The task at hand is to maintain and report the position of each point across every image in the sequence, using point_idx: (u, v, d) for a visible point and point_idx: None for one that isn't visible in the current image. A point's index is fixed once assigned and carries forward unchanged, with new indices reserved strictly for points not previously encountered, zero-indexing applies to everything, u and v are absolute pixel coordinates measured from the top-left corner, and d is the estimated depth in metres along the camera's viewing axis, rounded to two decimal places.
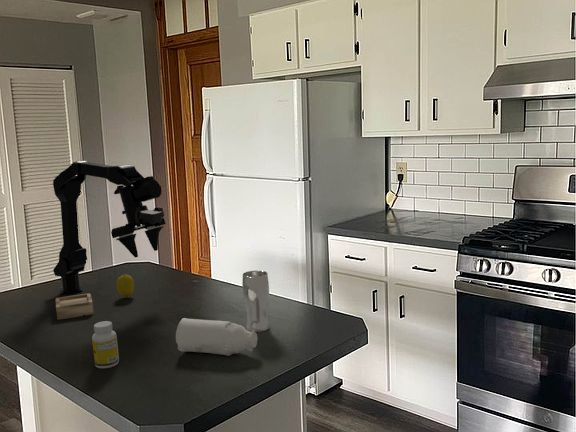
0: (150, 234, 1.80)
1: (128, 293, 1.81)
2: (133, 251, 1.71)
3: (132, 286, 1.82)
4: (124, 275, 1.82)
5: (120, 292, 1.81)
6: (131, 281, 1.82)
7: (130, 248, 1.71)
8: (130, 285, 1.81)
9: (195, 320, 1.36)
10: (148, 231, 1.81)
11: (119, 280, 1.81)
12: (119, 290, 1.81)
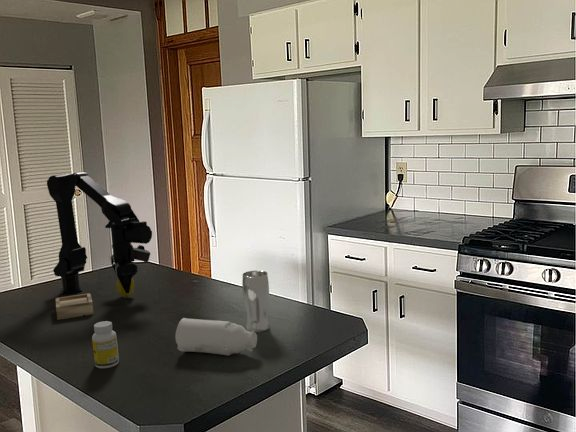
0: None
1: (128, 293, 1.81)
2: (127, 287, 1.78)
3: (132, 286, 1.82)
4: None
5: (120, 292, 1.81)
6: (131, 281, 1.82)
7: (126, 284, 1.77)
8: None
9: (195, 320, 1.36)
10: None
11: None
12: (119, 290, 1.81)
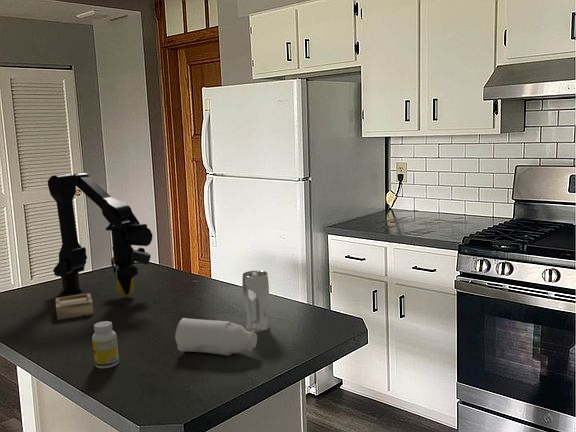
0: None
1: None
2: (127, 288, 1.80)
3: (132, 286, 1.82)
4: None
5: (120, 292, 1.81)
6: (131, 281, 1.82)
7: (125, 285, 1.79)
8: (130, 285, 1.81)
9: (195, 320, 1.36)
10: None
11: None
12: (119, 290, 1.81)
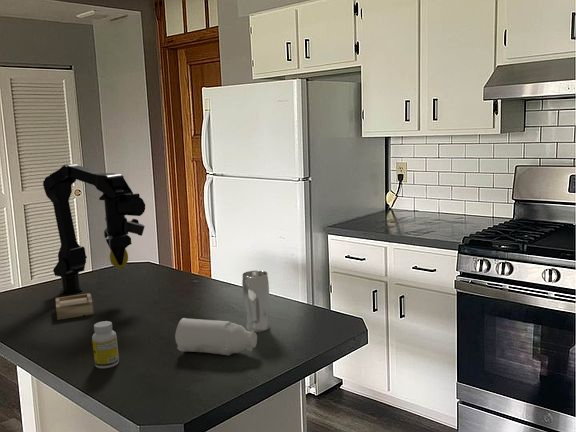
0: None
1: (122, 264, 1.79)
2: (120, 259, 1.77)
3: (126, 257, 1.79)
4: None
5: (113, 264, 1.78)
6: (125, 252, 1.79)
7: (119, 256, 1.76)
8: (124, 256, 1.79)
9: (195, 320, 1.36)
10: None
11: None
12: (112, 261, 1.78)
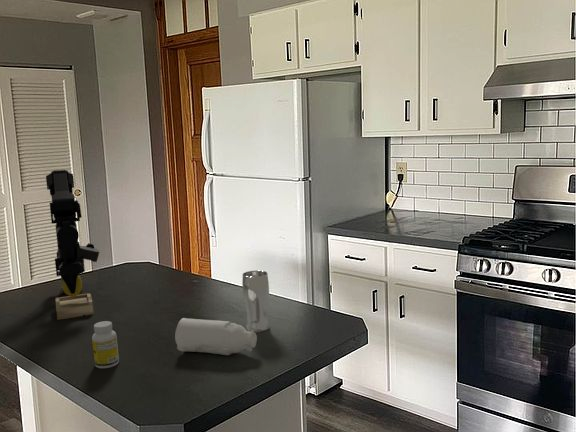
0: None
1: (75, 292, 1.68)
2: (73, 287, 1.67)
3: (79, 285, 1.69)
4: None
5: (66, 292, 1.68)
6: (78, 280, 1.69)
7: (71, 284, 1.66)
8: (77, 284, 1.68)
9: (194, 320, 1.36)
10: None
11: None
12: (65, 289, 1.68)
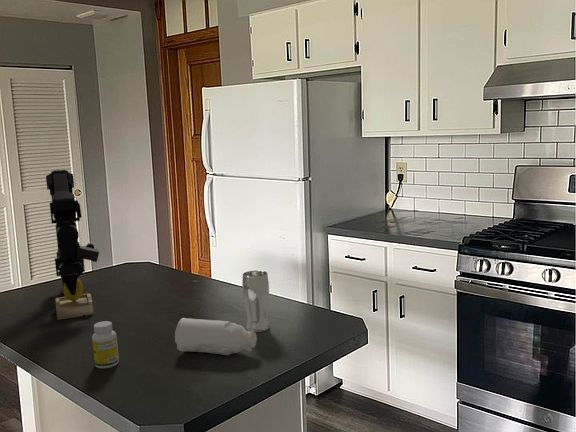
0: None
1: (75, 297, 1.69)
2: (73, 289, 1.65)
3: (80, 290, 1.69)
4: None
5: (67, 296, 1.68)
6: (79, 284, 1.69)
7: (71, 285, 1.64)
8: (78, 289, 1.68)
9: (194, 320, 1.36)
10: None
11: None
12: (65, 294, 1.68)
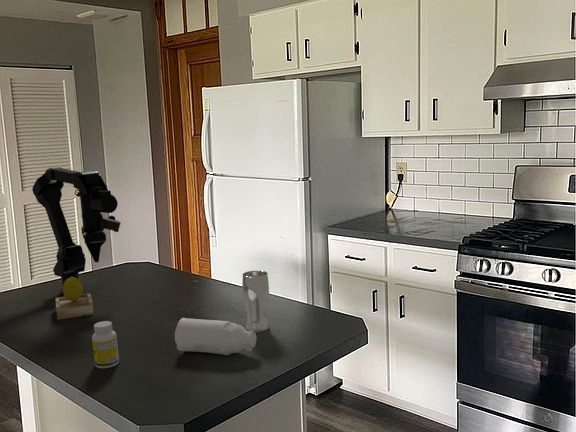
0: None
1: (75, 297, 1.69)
2: (97, 256, 1.77)
3: (80, 290, 1.69)
4: (71, 278, 1.69)
5: (67, 297, 1.68)
6: (79, 284, 1.69)
7: (95, 253, 1.76)
8: (77, 289, 1.68)
9: (194, 320, 1.36)
10: None
11: (65, 283, 1.68)
12: (65, 294, 1.68)
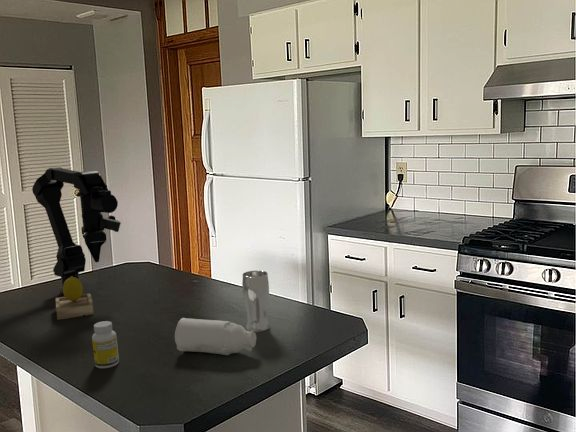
0: None
1: (75, 297, 1.69)
2: (97, 256, 1.77)
3: (80, 290, 1.69)
4: (71, 278, 1.69)
5: (67, 297, 1.68)
6: (78, 284, 1.69)
7: (95, 253, 1.76)
8: (77, 289, 1.68)
9: (194, 320, 1.36)
10: None
11: (65, 283, 1.68)
12: (65, 294, 1.68)
